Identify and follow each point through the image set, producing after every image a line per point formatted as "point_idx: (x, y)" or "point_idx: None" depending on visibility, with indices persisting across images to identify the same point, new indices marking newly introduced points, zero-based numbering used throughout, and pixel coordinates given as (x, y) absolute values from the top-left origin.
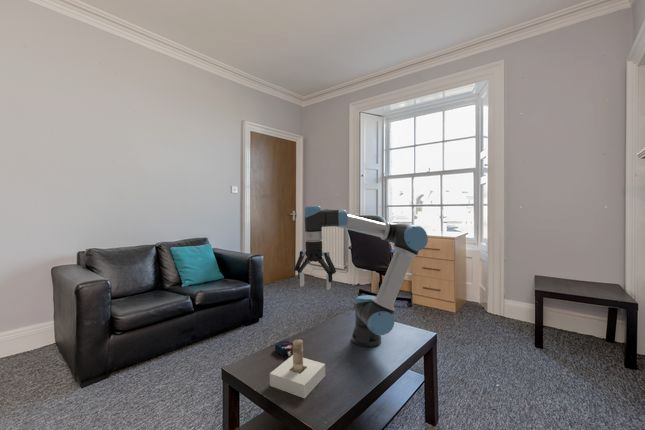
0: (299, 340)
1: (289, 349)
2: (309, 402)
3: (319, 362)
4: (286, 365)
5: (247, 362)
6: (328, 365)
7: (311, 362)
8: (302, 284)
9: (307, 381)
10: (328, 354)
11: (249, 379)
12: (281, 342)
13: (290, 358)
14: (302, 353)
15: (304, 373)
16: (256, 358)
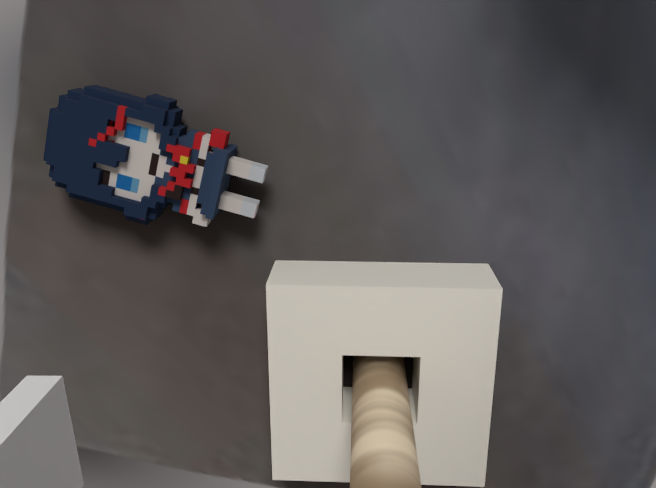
0: (386, 480)
1: (179, 197)
2: (504, 455)
3: (462, 289)
4: (303, 393)
5: (34, 341)
6: (461, 161)
7: (417, 308)
8: (57, 475)
9: (484, 459)
10: (403, 38)
11: (162, 442)
12: (64, 139)
13: (278, 326)
14: (415, 445)
15: (436, 413)
16: (41, 289)
